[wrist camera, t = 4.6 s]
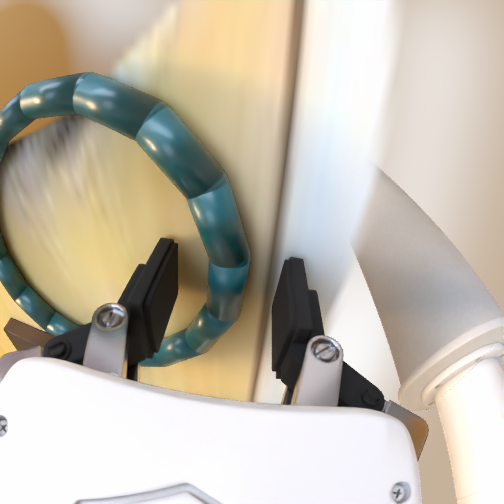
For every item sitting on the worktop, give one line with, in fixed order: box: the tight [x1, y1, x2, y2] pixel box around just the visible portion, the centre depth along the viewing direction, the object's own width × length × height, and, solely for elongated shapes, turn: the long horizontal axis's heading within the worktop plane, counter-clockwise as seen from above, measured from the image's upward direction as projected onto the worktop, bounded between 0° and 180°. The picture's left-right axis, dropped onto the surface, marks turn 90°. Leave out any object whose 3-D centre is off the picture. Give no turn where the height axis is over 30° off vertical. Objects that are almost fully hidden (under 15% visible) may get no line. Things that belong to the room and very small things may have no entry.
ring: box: [0, 72, 251, 367], centre depth 12 cm, size 17×17×2 cm
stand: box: [4, 318, 54, 351], centre depth 17 cm, size 9×9×8 cm
